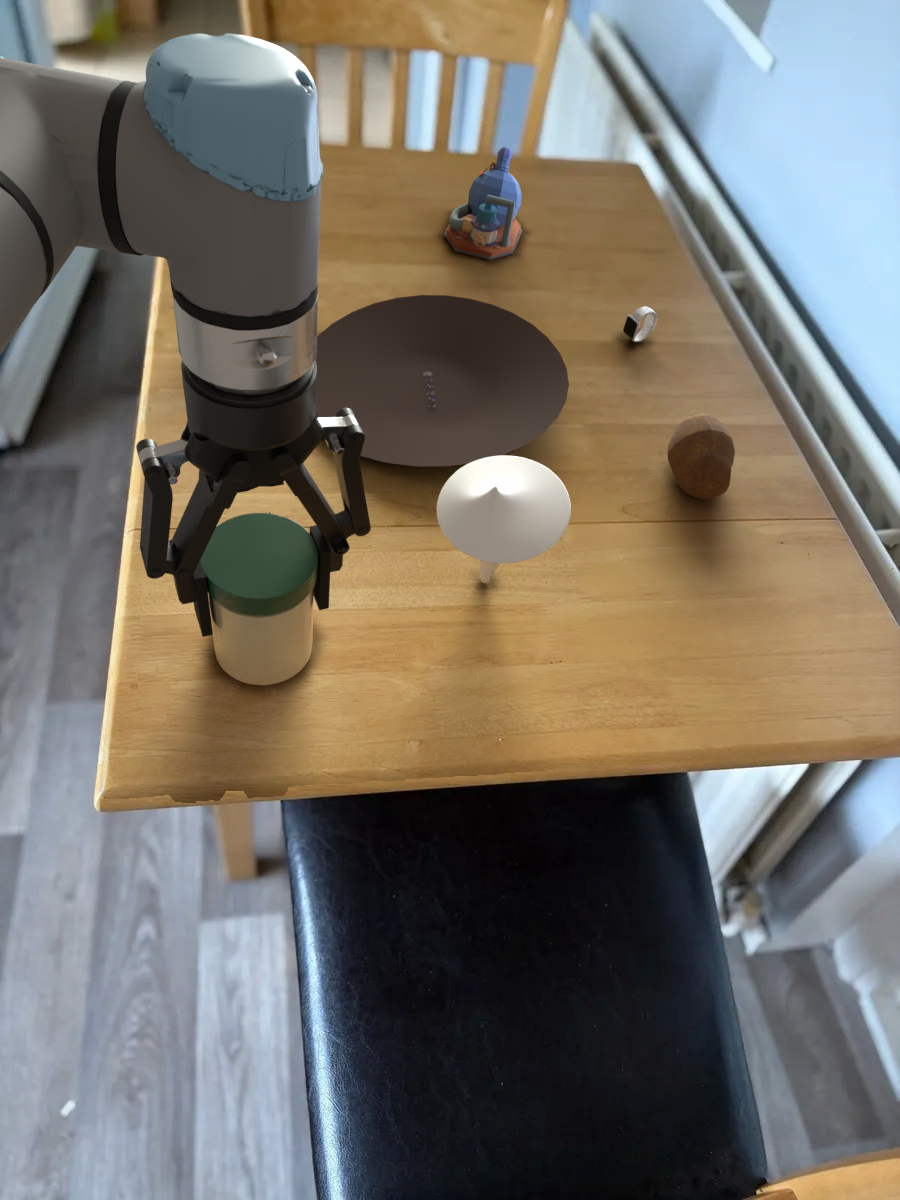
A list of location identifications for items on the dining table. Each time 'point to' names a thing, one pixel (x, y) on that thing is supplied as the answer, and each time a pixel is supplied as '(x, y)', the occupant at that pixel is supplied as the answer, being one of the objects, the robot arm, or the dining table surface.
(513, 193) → the model
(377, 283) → the dining table surface
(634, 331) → the smartwatch
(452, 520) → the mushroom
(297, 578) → the jar lid
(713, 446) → the potato
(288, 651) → the jam jar
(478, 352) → the plate
